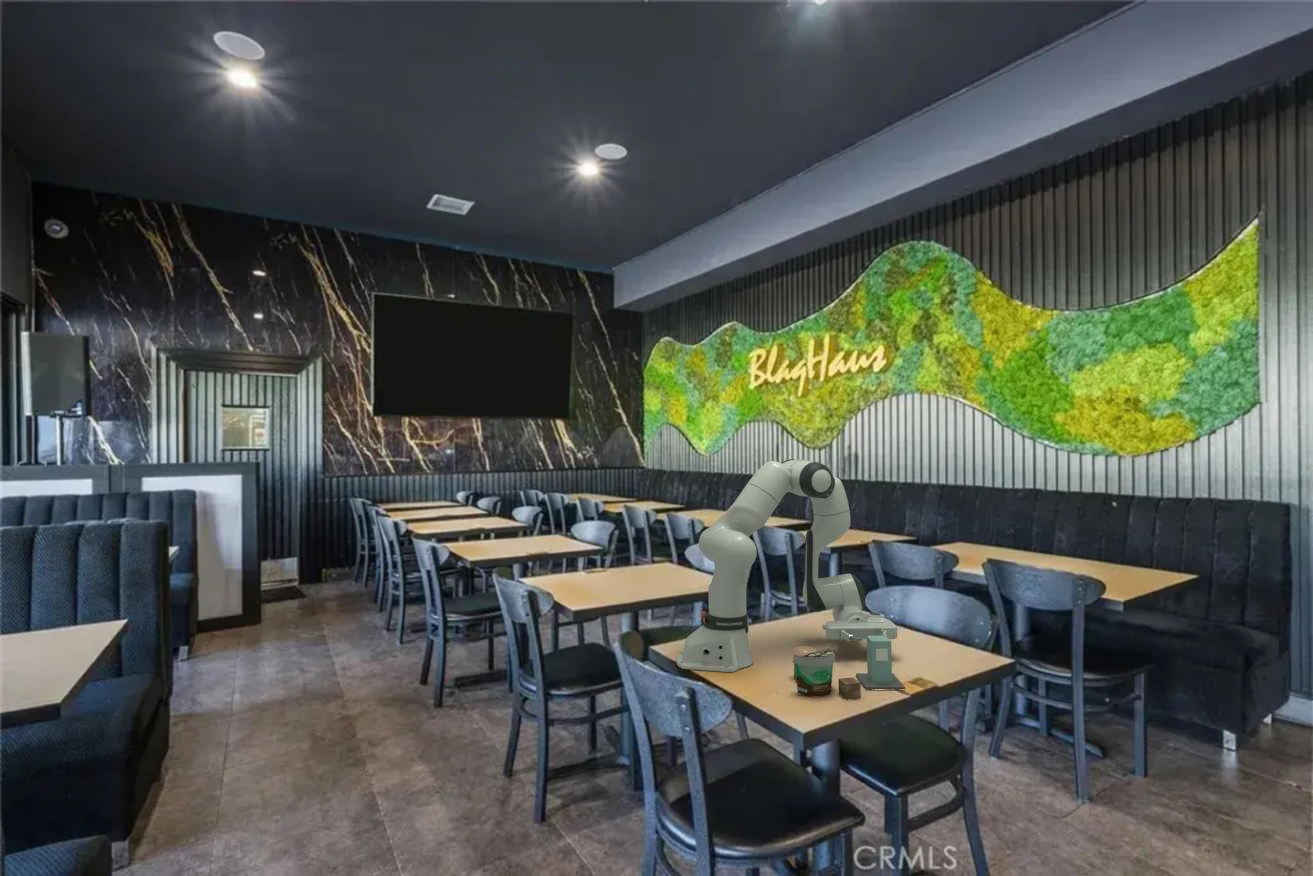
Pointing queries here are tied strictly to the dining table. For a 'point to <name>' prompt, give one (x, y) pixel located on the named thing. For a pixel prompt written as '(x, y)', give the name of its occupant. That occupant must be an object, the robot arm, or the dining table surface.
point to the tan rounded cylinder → (802, 653)
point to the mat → (869, 685)
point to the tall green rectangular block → (879, 660)
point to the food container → (814, 673)
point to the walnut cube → (849, 688)
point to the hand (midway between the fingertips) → (867, 638)
